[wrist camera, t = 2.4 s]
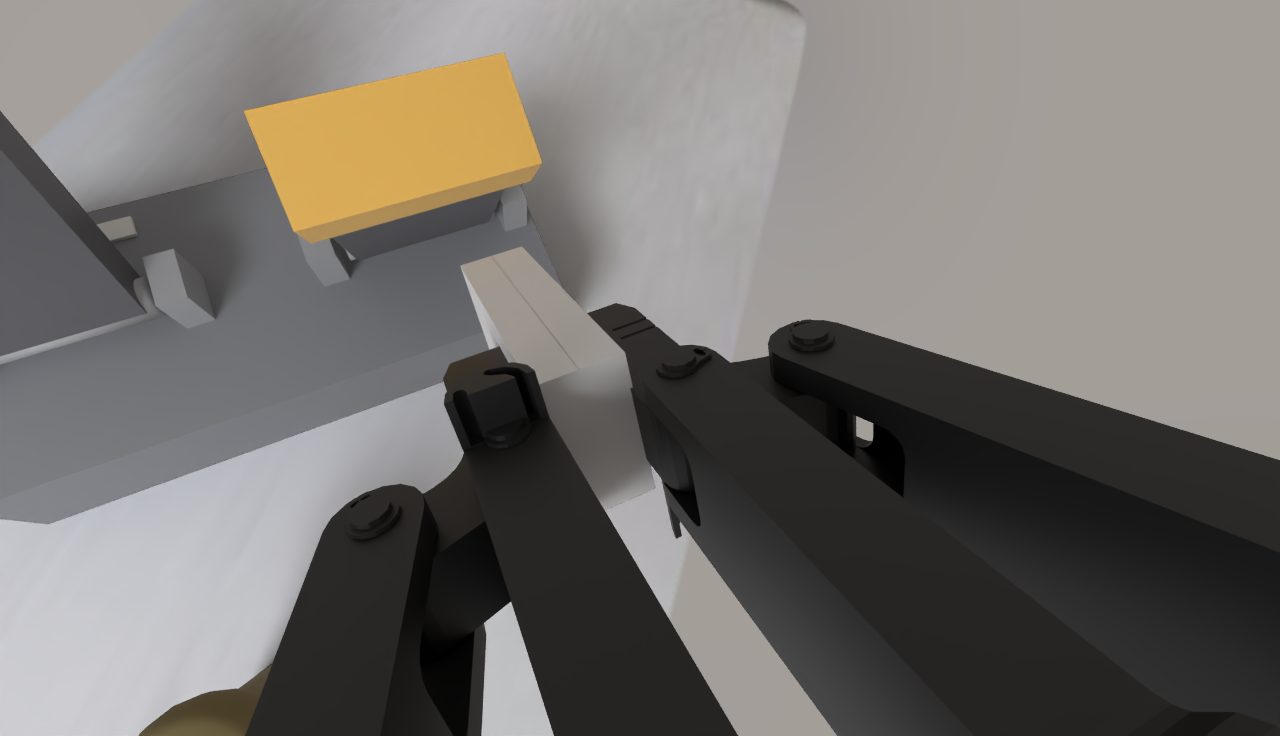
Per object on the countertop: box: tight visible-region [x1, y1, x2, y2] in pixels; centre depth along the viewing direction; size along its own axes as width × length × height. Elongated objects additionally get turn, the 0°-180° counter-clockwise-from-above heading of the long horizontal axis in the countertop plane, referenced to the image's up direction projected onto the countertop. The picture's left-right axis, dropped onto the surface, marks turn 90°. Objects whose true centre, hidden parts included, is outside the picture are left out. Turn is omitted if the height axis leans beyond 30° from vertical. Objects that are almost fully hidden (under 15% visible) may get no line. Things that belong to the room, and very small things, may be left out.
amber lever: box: [244, 53, 542, 261], centre depth 24 cm, size 3×7×15 cm, turn 115°
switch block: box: [0, 168, 564, 524], centre depth 31 cm, size 26×12×8 cm, turn 115°
